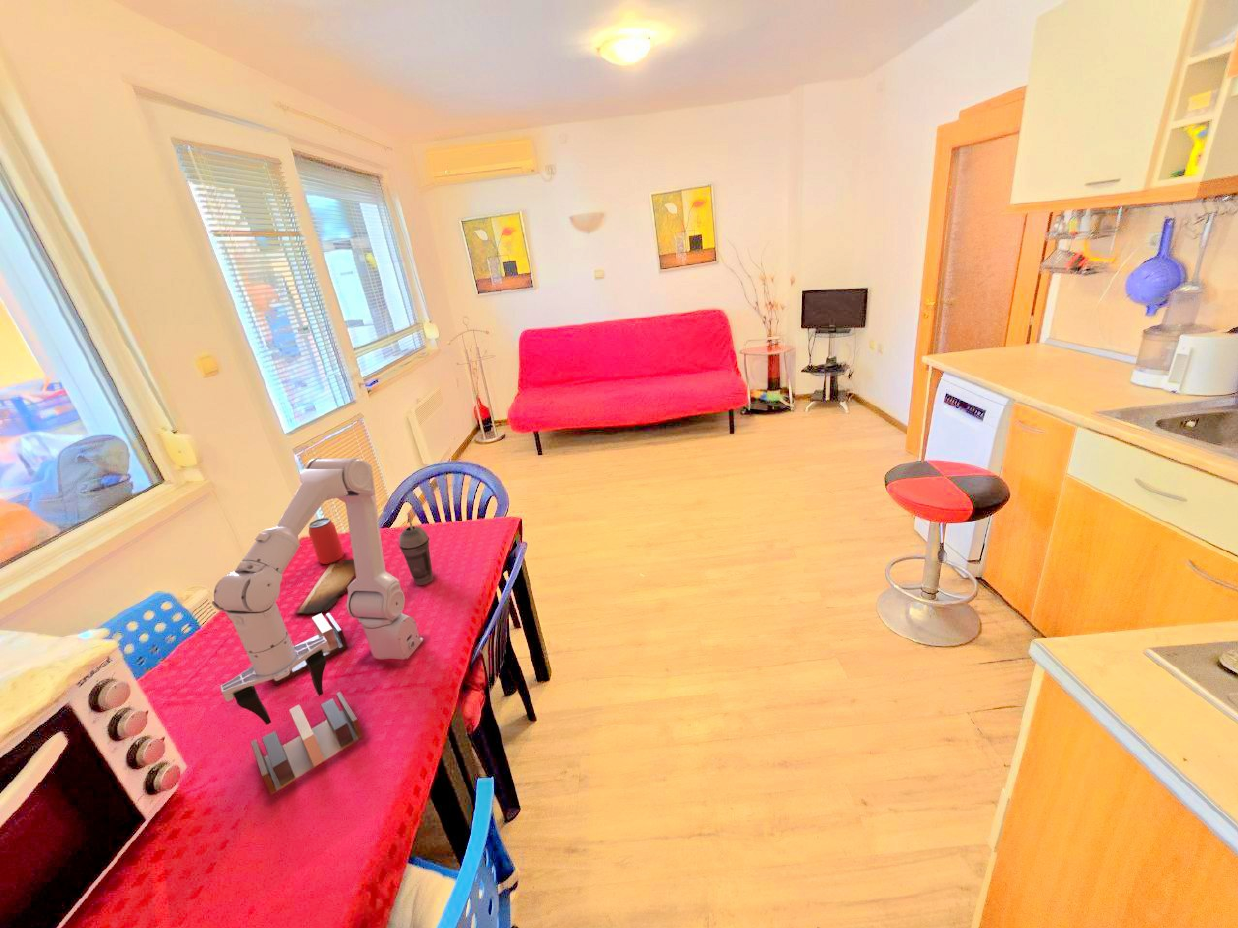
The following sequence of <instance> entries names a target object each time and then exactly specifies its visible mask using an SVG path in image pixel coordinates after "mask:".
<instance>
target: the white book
mask: <svg viewBox="0 0 1238 928" xmlns="http://www.w3.org/2000/svg"><path fill="white" fill-rule="evenodd" d="M288 711H289V713H290V716H291V718H292V721H293V723H294V724H295V727H296V730H297V731H298V735H299V736H301V739H302V741H303V743H304V745H305V747H306V750H307V752H308V754H309V756H310V758H311V761H312V763H313V765H314V768H316V767H317V766H319V765H320V763H321V764H323V761H324V762H325V761H326V760H325V759H324V757H323V754H322V752H321V750H320V747H319V745H318V743H317V740H316V738H315V735H314V733H313V731H312V727H311V724H310V723H309V721H308V719H307V717H306V715H305V712H304V710H303V708H302V707H301V705H300V703H299V704H297V705H295V706H293V707H292V708H289V709H288ZM318 764H319V765H318ZM315 766H316V767H315Z"/></svg>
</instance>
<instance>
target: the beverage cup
mask: <svg viewBox="0 0 1238 928" xmlns="http://www.w3.org/2000/svg"><path fill="white" fill-rule="evenodd" d="M407 517H408V518H407V519H408V522H409V527H405V529H403V531H402V532H401V533H400V535H399V538H398V548H400V551H401V553H402V554H403V556H404V559H405V562H406V565H407V567H408V569H409V571H410V575H411V577H412V579H413V581H414V583H415V585H417V586H424V585H425V586H426V585H428V584H429V583H431V582H432V581H433V580H434V574H433V567H432V561H431V553H430V537H429V536H428V533H427V531H425V530H424V529H423V528H421V527H419V526H415V525H413V523H412V517H411V513H410V512H408V513H407Z"/></svg>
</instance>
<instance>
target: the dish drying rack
mask: <svg viewBox="0 0 1238 928" xmlns="http://www.w3.org/2000/svg"><path fill="white" fill-rule="evenodd" d="M311 620H312V623H313V625H314V628H315V630H316V633H317V634H316V635H314V636H312V637H310V638H308V639H306V640H303V641H302V642H300V643H297V645H299V644H303V643H306V642H309V641H312V640H315V639H318V638H320V637H322V636H324V637H325V639H326V640H327V642H328V645H329V648H330V650H329V651H327V652H325V653H323V654H324V656H325V658H326V660H328V659H330V658H332V657H334V656H337V654H339V653H342V652H343V651H346V650H348V649H349V646H348V643H347V640H346V637H345V634H344V631H343V629H342V628H341V626H340V625H339V623H337V621H336V620H335V618H334V617H333V615H332V614H331V612H327V613H326V614H325V616H324V615H323V612H321V613H318V614H316V615H314V616H311ZM307 670H309V669H308V666H307V664H306V661H305V660H304V661H303V662H301V663H300V664H298V665H297V666H296V667H294V668H293V669H291V670H290V674H289V675H288V676H286V677H284V678H282V679H280V680H278V681H275V680H274V679H272V681H273V684H274V686H277V685H279V684H281V683H283V682H285V681H287V680H289V679H292V678H293V677H295V676H297V675H300V673H303V672H304V671H307Z"/></svg>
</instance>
